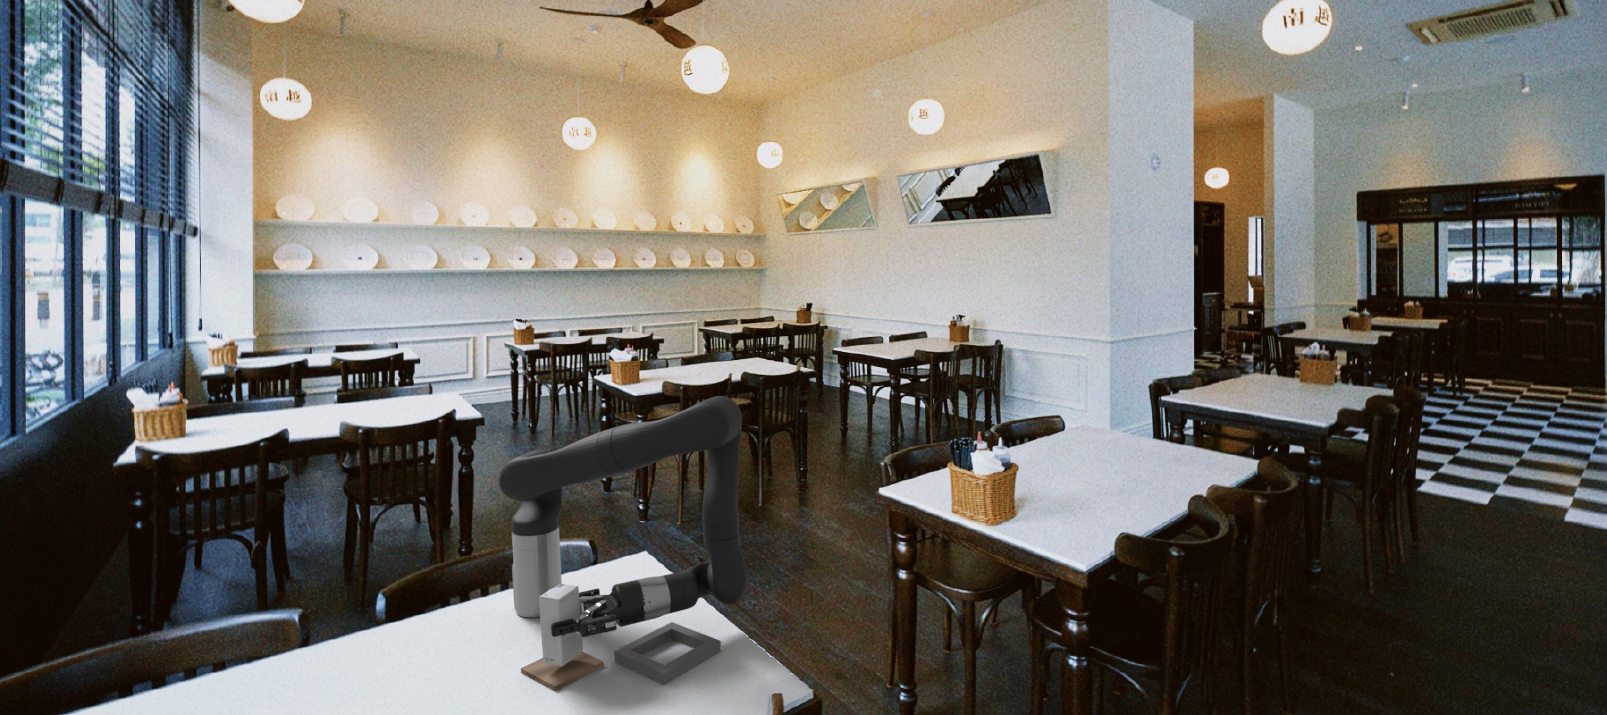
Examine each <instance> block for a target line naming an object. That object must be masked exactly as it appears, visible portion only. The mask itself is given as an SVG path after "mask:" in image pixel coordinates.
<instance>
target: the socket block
mask: <svg viewBox="0 0 1607 715" xmlns="http://www.w3.org/2000/svg"><path fill="white" fill-rule="evenodd" d="M670 640H673V641H677V642H679V643H681V644H684V645H686V646H689V647H691V648H693V649H691V650H688V651H686V652H685V653H683V654H682V655H680V656H678V657H676V658H675V659H673V660H671V661H670V662H668V663H666V664H664V663H661V662H658V661H656V660H654V659H651V658H649V657H647V656H645V655H644V654H646V653H647V652H650V651H651V650H653V649H655V648H657V647H659V646H661V645H662V644H664V643H667V642H668V641H670ZM721 648H722V641H721V640H719V639H716V638H714V637H712V636H709V635H706V634H704V633H701V632H699V631H696V630H693V629H691V628H688V627H685V626H684V625H681V624H678V623H676V622H673V621H671V622H669V623H667V624H665V625H663V626H662V627H659V628H657V629H655V630H653V631H651V632H648V633H647V634H645V635H642V636H641V637H640V638H638V639H636V640H633V641H632V642H630V643H628V644H625V645H624V646H622V647H620V648H618V649H616V650H614V652H613V654H614V655H613V656H614V659H613V660H614V663H615V664H616V663H617V664H618V665H620V666H623V667H625V668H627V669H630V670H631V671H634V673H635V672H636V673H638V674H640V675H642V676H645V677H646V678H648V679H651V680H653V681H655V682H657V683H659V684H662V685H664V686H665V685H666V684H668V683H670V682H672V681H673V680H675V679H677V678H678V677H679V676H681V675H683V674H686V673H687V672H688V671H690V670H692V669H693V668H695V667H696V666H699V665H700V664H702V663H703V662H705V661H707V660H709V659H710V658H712V657H714V656H716V655H717V654H718V653H721V652H722V649H721Z"/></svg>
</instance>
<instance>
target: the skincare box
mask: <svg viewBox="0 0 1607 715" xmlns="http://www.w3.org/2000/svg"><path fill="white" fill-rule="evenodd" d="M579 593H580V590H579V586H578V585H573V584H563V583H562V584H559V585H558V586H556V587H554V588H552V589H550V590H548V591H547V592H546V593H544V594H543V595H541V596H539V609H540V617H539V620H540V622H539V623H540V632H541V634H540V635H541V647H542V649H541V650H542V658H543V662H544V663H546V664H550V665H555V666H564V665H565V664H567V663H568V662H569V661H571V660H572V659H573V658H575V657H576V656H577V655H578V654H580V653H581V652H584V651H583V650H584V647H583V646H584V643H583V637H582V636H581V633H580V634H576V633H575V632H573V633H569V634H565V635H561V636H557V637H553V636H552V634H551V624H552V623H555V622H560V621H564V620H568V619H574V621H575V618H577V617H579V616H581V615H580V601H579Z"/></svg>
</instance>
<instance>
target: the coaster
mask: <svg viewBox="0 0 1607 715" xmlns="http://www.w3.org/2000/svg"><path fill="white" fill-rule="evenodd" d="M604 665H605V663H604V660H601V659H600V658H597V657H595V656H592V655H590V654H589V653H586V652H584V651H582V652H581V653H580V654H578V655H577V656H576V657H575V658H573V659H572V660H571V661H569V662H568V663H567V664H565V665H564V666H555V665H550V664H546V663H544V662H543V657H542V658H539V659H538V660H536V661H533V662H531V663H529V664H527V665H525V666H523V667H521V668H520V673H521V674H523V675H525V676H527V677H529V679H533V680H534V681H536V682H538V683H540V684H542V685H544V686H545V687H547V688H549V689H551V690H553V691H555V692H556V691H558V690H560V689H561V688H563V687H565V686H567V685H570V684H572V683H574V682H575V681H577V680H580V679H581V678H583V677H585V676H587V675H588V674H591V673H593V672H594V671H596V670H598V669H600V668H602V667H604Z"/></svg>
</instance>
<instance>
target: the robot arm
mask: <svg viewBox="0 0 1607 715" xmlns="http://www.w3.org/2000/svg"><path fill="white" fill-rule="evenodd" d="M742 425H743V416H742V412H741V409H740V407H739V405H738V404H737V402H735V401H734V399H731V398H729V397H727V396H723V395H718V396H717V395H716V396H712V397H710V398H707V399H705V400H703V401H700V402H698V403H695V404H694V405H692V406H690V407H687V408H686V409H684V410H682V411H679V412H677V413H673V414H672V415H670V416H666V417H663V418H661V419H658V420H657V419H656V420H652V421H641V422H640V421H639V422H633V423H632V422H631V423H625V424H622V425H618V426H615V427H611V428H609V429H605V430H602V431H598V432H596V433H593V434H591V435H589V436H586V437H584V438H581V439H579V440H577V441H574V442H573V443H571V444H568V445H566V446H564V447H562V448H559V449H556V450H554V451H548V450H544V449H536V450H532V451H529V452H526V453H524V454H521V455H519V456H516V457H514V458H513V459H510V461H508V462H507V463H506V464H505V465H504V467H503V468H502V469H501V471H500V474H499V478H498V485H499V488H500V490H501V492H502V493H503V494H504V495H505V496H506V497H507V498H509V499H510V500H513V501H517V502H520V505H519V507H518V509H517V511H516V512H515V513H514V515H513V517H512V518H511V522H510V523H511V539H512V540H511V541H512V542H511V543H512V559H513V563H512V564H511V573H512V574H511V575H512V589H513V592H512V593H513V605H514V606H513V608H515V612H516V614H517V615H518V616H520V617H524V618H540V609H539V596H541V595H543V594H544V593H546V592H547V591H548V590H550V589H552V588H554V587H556V586H558V585H559V584H563V583H562V566H561V565H562V563H561V542H560V526H559V520H560V517H561V513H562V509H563V488H565V487H568V486H572V485H578V484H583V483H588V482H593V481H598V480H599V481H600V480H602V479H606V478H611V477H615V476H619V475H624V474H626V473H630V472H634V471H637V470H639V469H642V468H644V467H645V468H646V467H647V466H651V465H653V464H655V463H657V462H660V461H662V460H665V459H667V458H669V457H674V456H679V455H683V454H684V455H685V454H691V453H696V452H705V451H707V452H706V454H707V474H706V482H705V488H704V493H703V494H704V495H703V500H702V518H701V519H702V534H703V535H702V536H703V538H702V539H703V544H704V549H705V550H706V553H708V555H709V558H710V559H708V560H706V561H703V562H700V563H699V564H696V565H694V566H692V567H689V568H687V569H686V570H683V571H679V572H673V573H667V574H663V575H657V576H649V577H644V578H639V579H636V580H630V581H625V582H621V583H616V584H615V583H614V585H613V586H612V588H611V592H610V593H609V594H601V593H600V592H601V591H600V588H593V589H589V590H584V591H581V592H580V591H579V601H580V615H581V616H579V617H577V618H575V621H574V619H568V620H564V621H560V622H555V623H552V624H551V634H552V636H553V637H557V636H561V635H565V634H569V633H573V632H575V633H576V634H580V633H581V636H582V638H586V637H587V638H588V637H590V636H595V635H601V634H604V633H609V632H613V631H616V630H617V626H618V627H621V628H622V627H627V626H631V625H635V624H638V623H643V622H647V621H650V620H655V619H657V618H660V617H663V616H666V615H669V614H673V613H678V612H683V611H685V610H688V609H691V608H693V607H695V606H696V605H697V603H698V600H699V599H700V598H703V597H706V596H712V598H714V599H715V600H716V601H718V603H720V604H723V605H727V606H731V605H735V604H736V603H738V602H740V601H741V600H742V599H743V597H744V595H745V593H746V591H747V587H748V572H747V566H746V562H745V559H744V554H743V550H742V545H741V543H740V541H741V540H740V539H741V535H740V534H741V533H740V520H739V519H740V516H739V498H738V497H739V496H738V495H739V494H738V489H739V488H738V477H739V474H738V472H739V455H740V442H741V436H742V427H743V426H742Z"/></svg>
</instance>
